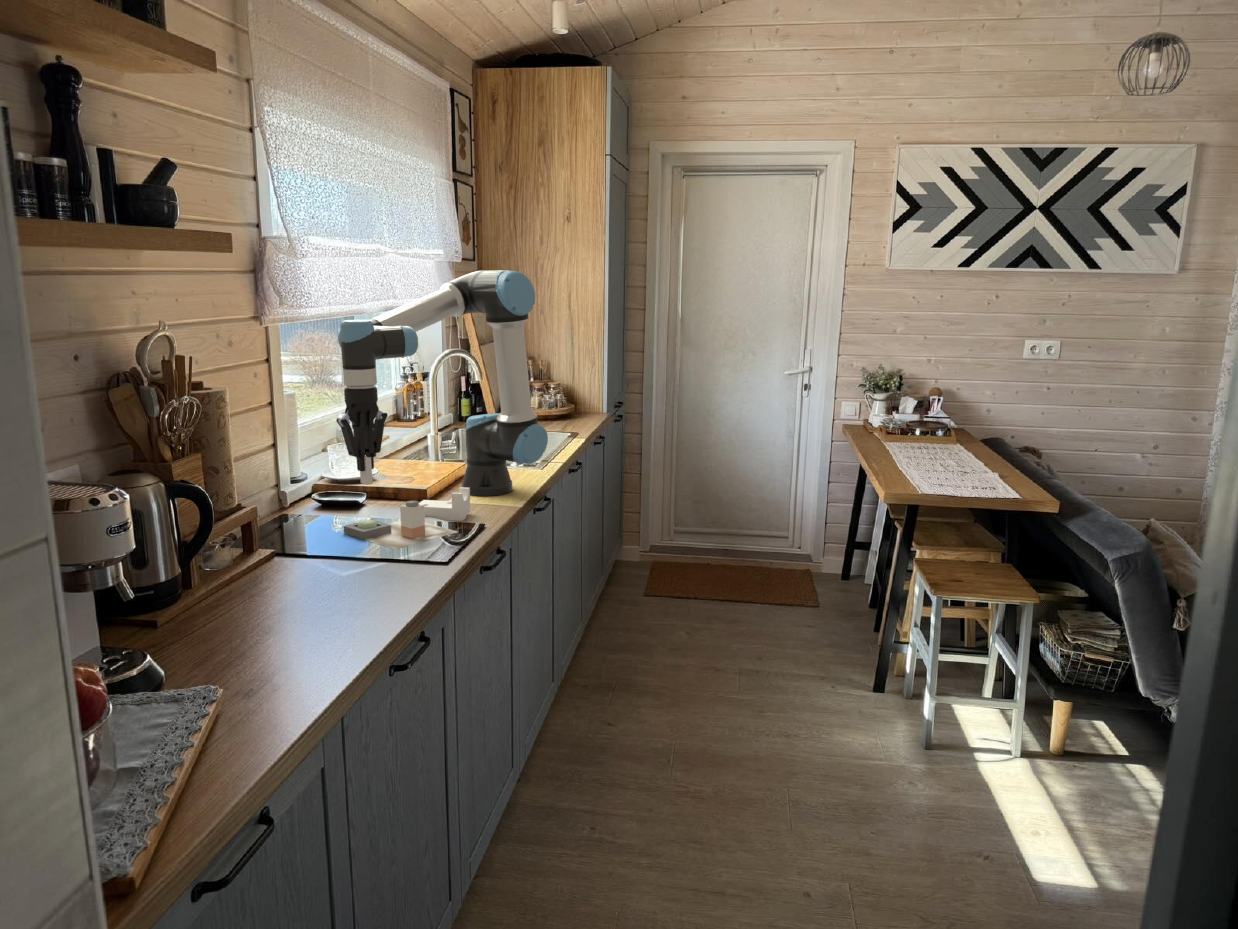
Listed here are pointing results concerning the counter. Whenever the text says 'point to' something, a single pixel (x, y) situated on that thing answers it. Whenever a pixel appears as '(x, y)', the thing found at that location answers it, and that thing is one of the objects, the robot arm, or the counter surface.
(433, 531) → the cloth
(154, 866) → the counter surface
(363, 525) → the button
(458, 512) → the bracket
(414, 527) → the white tall block
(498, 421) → the robot arm
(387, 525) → the button housing
